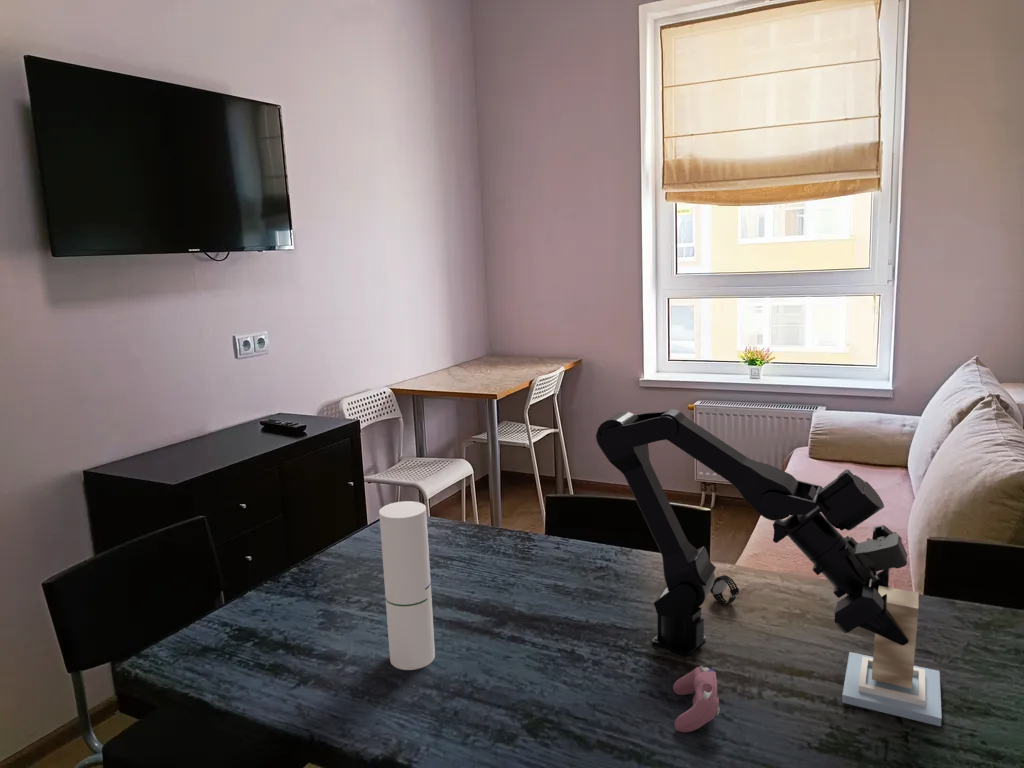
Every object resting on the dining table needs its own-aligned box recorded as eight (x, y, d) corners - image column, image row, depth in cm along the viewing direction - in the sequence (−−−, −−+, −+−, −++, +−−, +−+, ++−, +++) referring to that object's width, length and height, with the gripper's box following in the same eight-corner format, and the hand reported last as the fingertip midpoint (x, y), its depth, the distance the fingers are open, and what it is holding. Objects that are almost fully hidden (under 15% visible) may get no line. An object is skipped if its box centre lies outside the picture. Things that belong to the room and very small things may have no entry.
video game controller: (703, 747, 98) (728, 707, 96) (671, 730, 98) (696, 690, 96) (699, 702, 107) (722, 664, 105) (670, 686, 108) (693, 649, 106)
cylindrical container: (442, 648, 121) (433, 503, 116) (423, 673, 114) (413, 520, 109) (402, 642, 123) (393, 499, 118) (381, 665, 116) (370, 515, 111)
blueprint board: (841, 702, 103) (842, 689, 103) (849, 658, 114) (849, 647, 113) (940, 726, 98) (942, 712, 97) (938, 678, 108) (939, 666, 108)
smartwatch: (728, 596, 135) (729, 570, 134) (740, 609, 130) (741, 583, 129) (706, 598, 134) (707, 572, 133) (717, 612, 129) (718, 585, 128)
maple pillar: (871, 679, 104) (877, 601, 102) (873, 661, 109) (878, 585, 106) (911, 688, 102) (918, 608, 100) (912, 669, 106) (918, 592, 104)
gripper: (867, 540, 95) (960, 639, 92) (875, 494, 111) (954, 576, 108) (799, 585, 100) (885, 680, 97) (816, 535, 116) (890, 615, 113)
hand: (906, 634), depth 103 cm, fingers closed on maple pillar, 5 cm apart
